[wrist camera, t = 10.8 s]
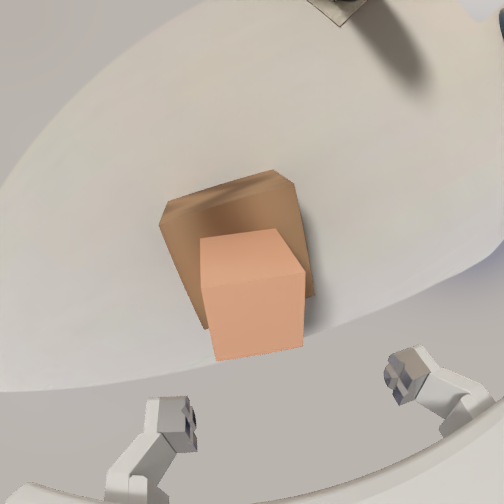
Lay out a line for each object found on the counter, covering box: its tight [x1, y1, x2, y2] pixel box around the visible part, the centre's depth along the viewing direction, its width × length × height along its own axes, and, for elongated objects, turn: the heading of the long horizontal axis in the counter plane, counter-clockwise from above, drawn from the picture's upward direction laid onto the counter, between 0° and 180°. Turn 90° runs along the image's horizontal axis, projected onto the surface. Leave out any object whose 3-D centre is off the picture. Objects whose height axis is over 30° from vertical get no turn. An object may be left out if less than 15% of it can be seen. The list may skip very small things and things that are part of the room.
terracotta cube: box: [200, 228, 306, 361], centre depth 17 cm, size 5×5×6 cm
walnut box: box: [159, 170, 315, 330], centre depth 22 cm, size 9×9×6 cm
